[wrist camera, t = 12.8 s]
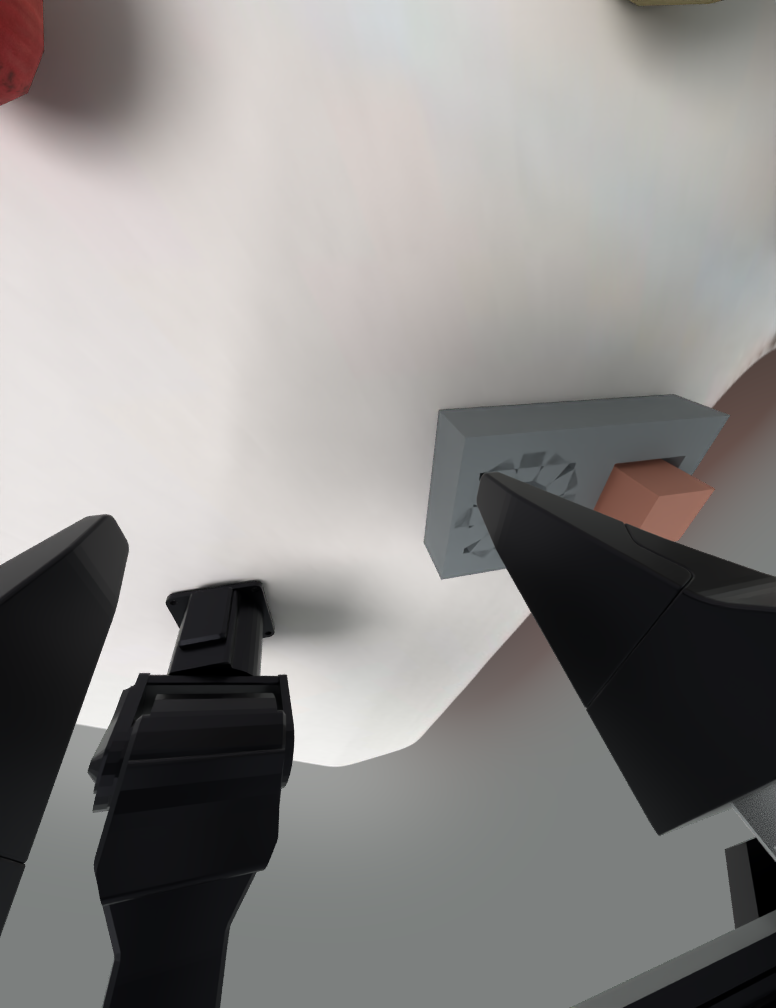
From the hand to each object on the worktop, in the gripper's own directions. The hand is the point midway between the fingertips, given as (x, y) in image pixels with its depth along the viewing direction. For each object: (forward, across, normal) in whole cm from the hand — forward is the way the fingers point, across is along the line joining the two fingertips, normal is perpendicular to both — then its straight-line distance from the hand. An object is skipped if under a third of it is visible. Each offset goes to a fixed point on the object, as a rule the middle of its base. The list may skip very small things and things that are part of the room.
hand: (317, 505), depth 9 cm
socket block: (+12, -17, +8) cm, 22 cm away
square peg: (+12, -22, +8) cm, 26 cm away
